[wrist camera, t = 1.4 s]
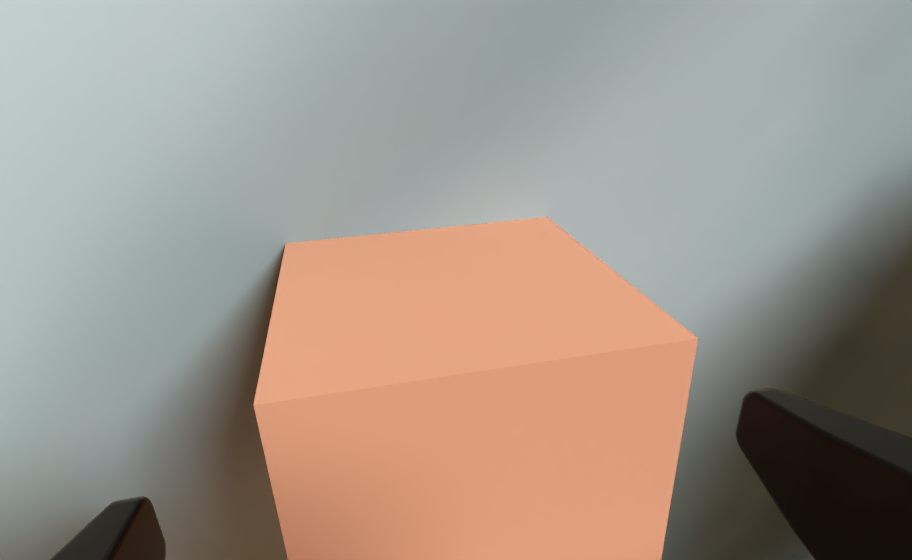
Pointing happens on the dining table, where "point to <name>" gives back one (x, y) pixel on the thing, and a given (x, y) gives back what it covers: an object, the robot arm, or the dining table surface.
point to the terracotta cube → (469, 399)
